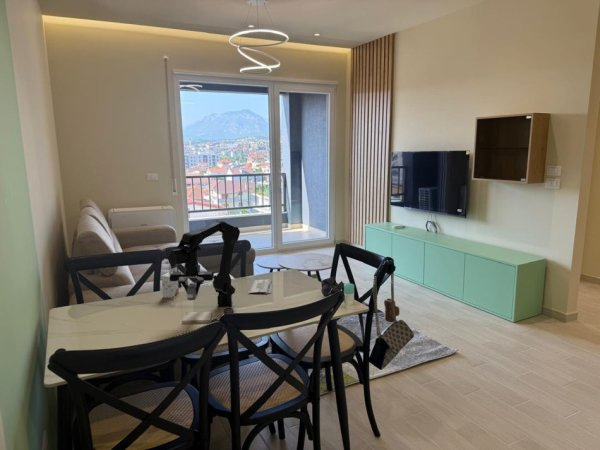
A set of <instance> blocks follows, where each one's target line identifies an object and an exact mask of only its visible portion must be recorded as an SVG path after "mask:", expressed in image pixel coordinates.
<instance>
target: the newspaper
mask: <svg viewBox="0 0 600 450" xmlns="http://www.w3.org/2000/svg"><path fill="white" fill-rule="evenodd" d="M252 281H253V282H252V284H251V286H250V288H249V291H248V294H252V293H262V294H263V295H268V294H272V288H273V287H272V286H273V284H272V280H271V279H256V280H252Z"/></svg>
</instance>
